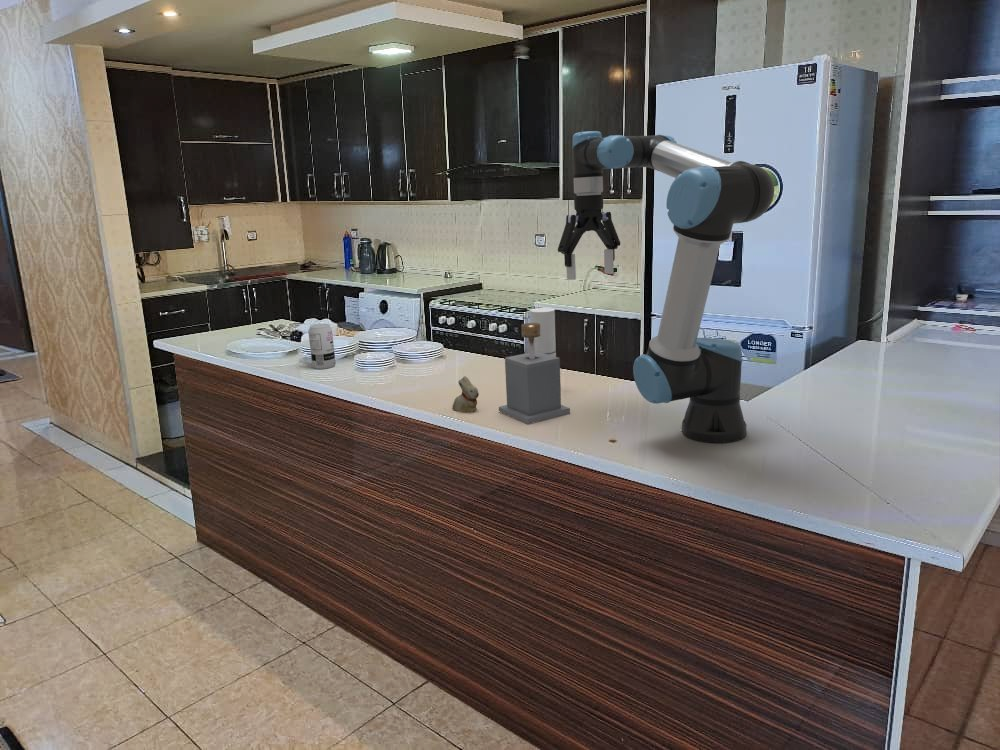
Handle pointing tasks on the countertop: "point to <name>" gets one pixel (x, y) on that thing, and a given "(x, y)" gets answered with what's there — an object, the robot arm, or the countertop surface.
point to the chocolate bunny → (466, 397)
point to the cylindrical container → (544, 330)
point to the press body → (533, 388)
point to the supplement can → (321, 346)
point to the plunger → (531, 336)
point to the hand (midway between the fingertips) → (590, 276)
